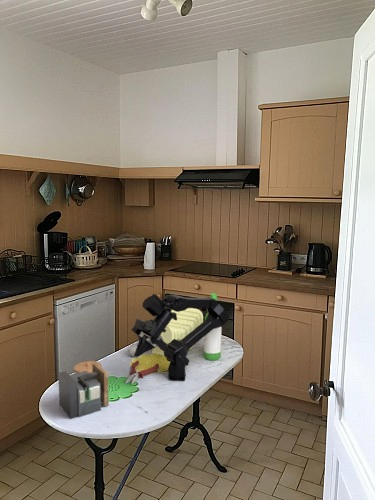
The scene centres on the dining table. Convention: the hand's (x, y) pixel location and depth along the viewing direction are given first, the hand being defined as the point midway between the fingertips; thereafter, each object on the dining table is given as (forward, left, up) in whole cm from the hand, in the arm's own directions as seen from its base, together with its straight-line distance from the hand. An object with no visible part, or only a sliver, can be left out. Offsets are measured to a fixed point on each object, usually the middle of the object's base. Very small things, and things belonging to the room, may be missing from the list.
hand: (135, 356), depth 158 cm
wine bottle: (-29, -34, -14) cm, 47 cm away
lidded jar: (+19, -2, -14) cm, 24 cm away
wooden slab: (+13, +13, -13) cm, 22 cm away
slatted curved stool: (-11, -40, -14) cm, 44 cm away
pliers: (+2, -15, -14) cm, 21 cm away
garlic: (+7, -33, -14) cm, 37 cm away
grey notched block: (+17, +15, -13) cm, 26 cm away
